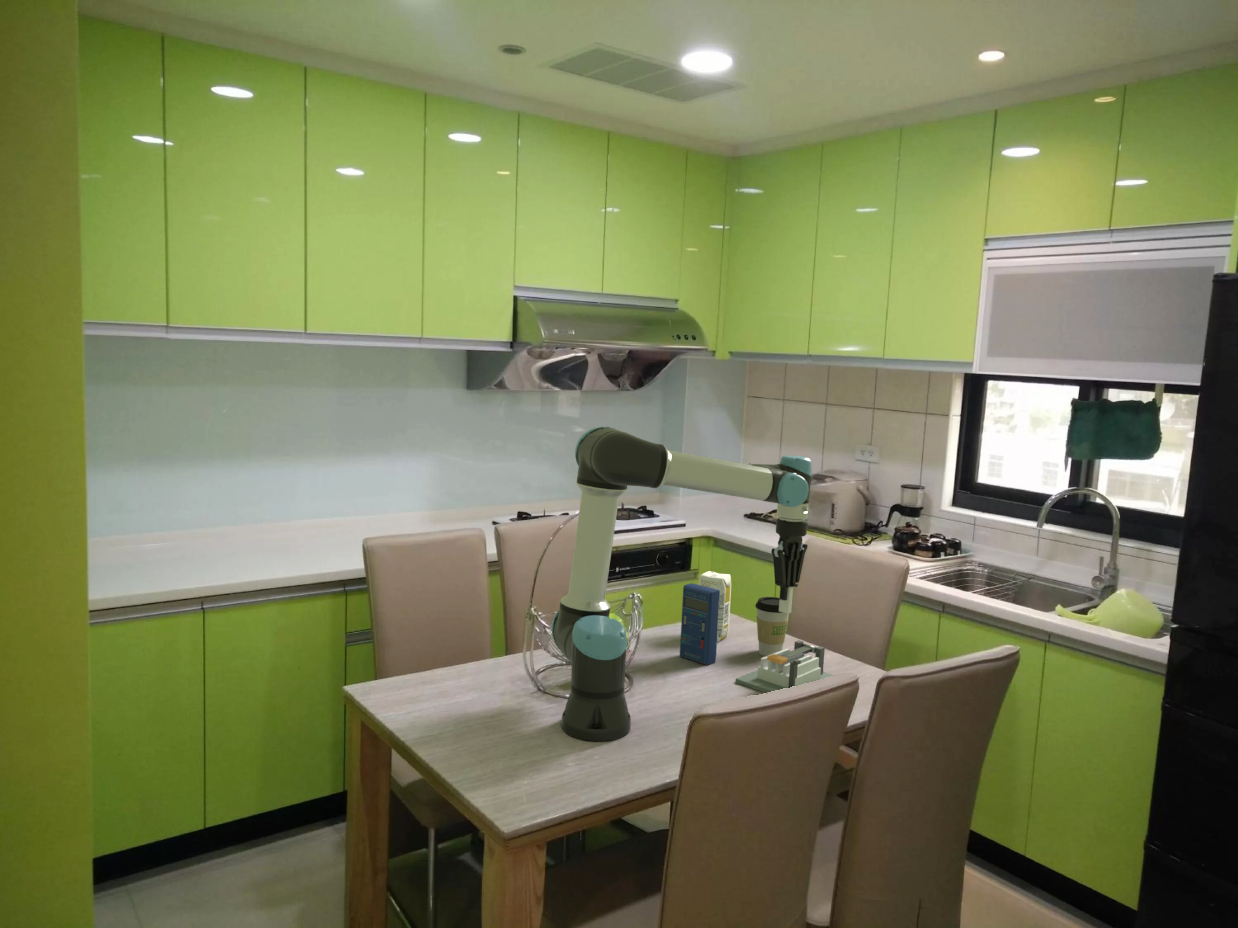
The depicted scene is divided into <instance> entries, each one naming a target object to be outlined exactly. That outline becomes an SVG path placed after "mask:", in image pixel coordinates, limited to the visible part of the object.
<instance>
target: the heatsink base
mask: <svg viewBox="0 0 1238 928" xmlns="http://www.w3.org/2000/svg"><path fill="white" fill-rule="evenodd" d="M802 644H804V641H803V640H799V639H798V640H796V641H794V645H793V647H794V648H793V650H795V649H798V648H801V645H802ZM816 647H817V648H816V653H814V654H815V657H813V658H812V655H810V654H807V655H805V654H804V655H801V656H799V657H796V658H793V659H791V660H788V661H787V662H786V663H783V664H778V663H774V662H771V661H768V660H767V656H763V657H761V658H760V665H759V666H757V669H756V670H753V671H751V672H749V673H746V674H744V675H741V676H738V677H736V678H735V683H737V684H739V685H742V686H745V687H748V688H751V689H753V690H756V691H760V692H763V693H765V694H767V693H766V692H771V691H775V690H780V689H783V688H790V687H792V686H798V685H801V684H804V683H809V682H813V681H816V680H820V679H824V678H826V677H830V676H834V675H835V674H832V673H830V672H826V671H824V664H825V649H826V648H825V647H824V646H816ZM790 651H791V649H790V648H785V649H784V648H783V649H782V651H779V652H776V653H774V654H776V655H781V654H784V653H787V652H790ZM771 655H772V654H771ZM768 656H769V655H768Z"/></svg>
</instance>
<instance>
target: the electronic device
mask: <svg viewBox="0 0 1238 928" xmlns="http://www.w3.org/2000/svg"><path fill="white" fill-rule="evenodd" d="M682 589H683V590H682V606H681V607H682V608H681V621H680V622H681V623H680V624H681V625H680V645H679V648H680V649H679V657H682V658H684V659H688V660H691V661H694V662H697V663H700V664H703V665H706V666H709V665H711V664H715V663H716V660H717V647H718V646H717V644H718V642H717V625H718V607H719V597H720V591H719V590H717V589H713V588H709V587H705V586H701V585H698V583H697V584H696V583H693V582H691V583H687V584H684V585H683V587H682Z"/></svg>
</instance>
